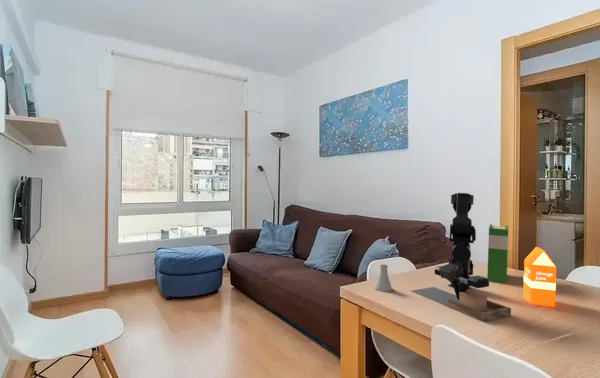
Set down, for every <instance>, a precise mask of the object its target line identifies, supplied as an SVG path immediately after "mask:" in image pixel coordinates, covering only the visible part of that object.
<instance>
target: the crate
mask: <svg viewBox="0 0 600 378" xmlns="http://www.w3.org/2000/svg"><path fill="white" fill-rule="evenodd" d="M459 295H460V296H459V303H461V304H464V305H466V306H469V307H471V308H474V309H476V310H479V311H481V312H482V311H487V300H488V295H485V294H483V293H480V292H477V291H474V290H471V289H470V290H467V291H465V292H459Z"/></svg>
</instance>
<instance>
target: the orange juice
mask: <svg viewBox="0 0 600 378" xmlns="http://www.w3.org/2000/svg"><path fill="white" fill-rule="evenodd" d="M523 264H524V266H523V291H522V292H523V293H522V297H523V298H524V299H525V300H526V301H527V302H528V303H529V304H530V305H536V306H544V307H551V306H552V308H555V306H556V290H557V289H556V288H557V283H556V282H557V266H556V265H555V263H554V262H553V261H552V259H551V258H550V257H549V255H548V254H547V253H546V251H545V250H544V249H542V248H540V247H538V246H535V248H533V250H532V251H531V252H530V253H529V254H528V255H527V256H526V257H525V259H524V261H523Z"/></svg>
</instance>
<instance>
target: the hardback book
mask: <svg viewBox="0 0 600 378" xmlns="http://www.w3.org/2000/svg"><path fill="white" fill-rule="evenodd" d="M487 247H488V251H487V276H486V278H487V279H488V280H489V282H493V283H498V284H499V283H500V284H505V285H506V284H507V282H508V281H507V280H508V279H507V276H508V252H509V250H508V249H509V226H508V225H505V226H498V225H493V224H492V223H491V224H489V227H488V246H487Z"/></svg>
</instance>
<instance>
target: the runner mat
mask: <svg viewBox="0 0 600 378" xmlns="http://www.w3.org/2000/svg"><path fill="white" fill-rule="evenodd" d="M410 292H412V293H414V294H416V295H419V296H421V297H423V298H426V299H428V300H431V301H433V302H435V303H438V304H440V305H442V306H445V307H447V308H449V307H448V300H449V299H451V300H453V301H456V302H459V300H458V299H457V296H456V294H453V293H451V292H448V291H445V290H444V289H440V288H438V287H435V286H432V287H425V288H417V289H412V290H411V289H410ZM487 311H491V309H488V308H487ZM487 311H482V312H487ZM481 322H483V321H481ZM483 323H484V322H483Z"/></svg>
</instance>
